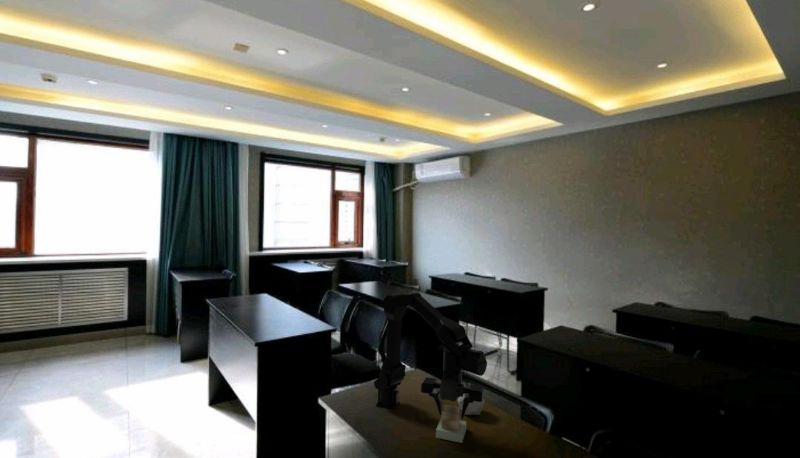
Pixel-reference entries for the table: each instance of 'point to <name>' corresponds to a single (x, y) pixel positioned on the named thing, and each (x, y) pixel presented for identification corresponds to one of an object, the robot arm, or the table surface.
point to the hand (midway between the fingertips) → (451, 416)
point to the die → (471, 406)
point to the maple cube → (451, 417)
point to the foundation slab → (451, 432)
